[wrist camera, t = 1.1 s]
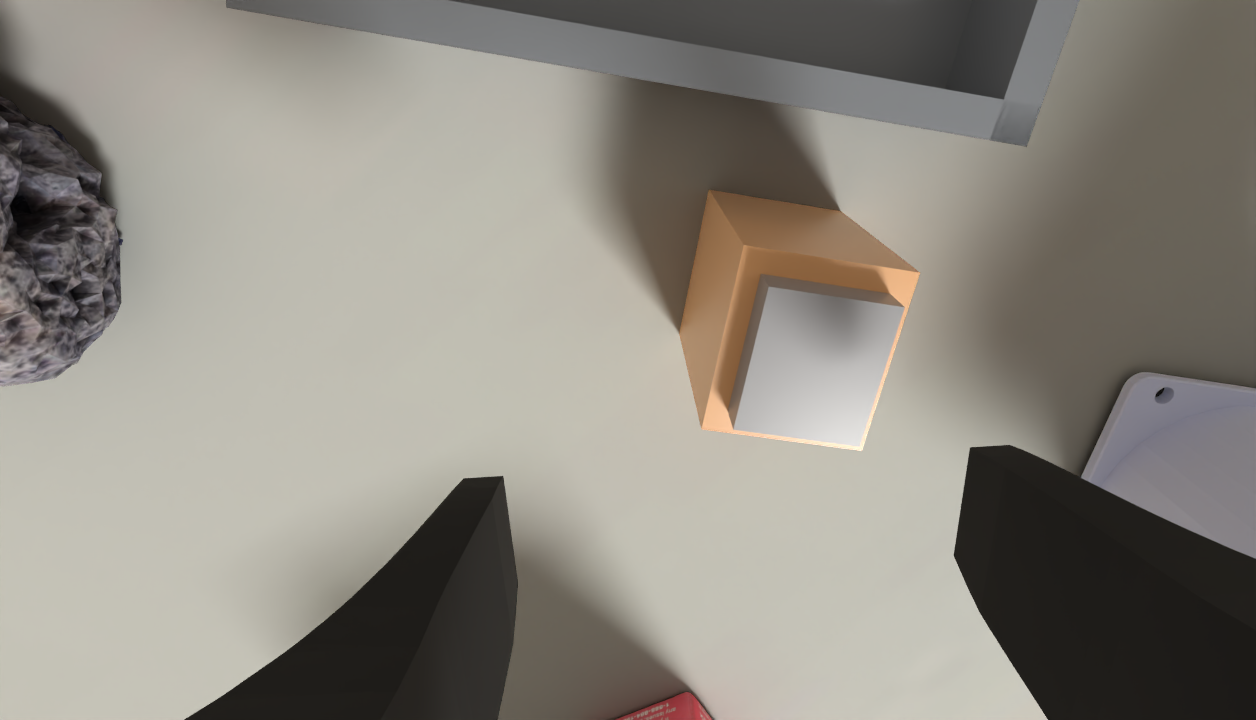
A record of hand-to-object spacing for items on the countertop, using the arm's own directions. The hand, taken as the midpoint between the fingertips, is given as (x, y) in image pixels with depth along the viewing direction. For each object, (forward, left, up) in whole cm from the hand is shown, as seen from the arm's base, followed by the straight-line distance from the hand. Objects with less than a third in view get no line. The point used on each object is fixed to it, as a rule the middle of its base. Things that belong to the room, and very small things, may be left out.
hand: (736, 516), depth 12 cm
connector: (-2, -1, -10) cm, 10 cm away
